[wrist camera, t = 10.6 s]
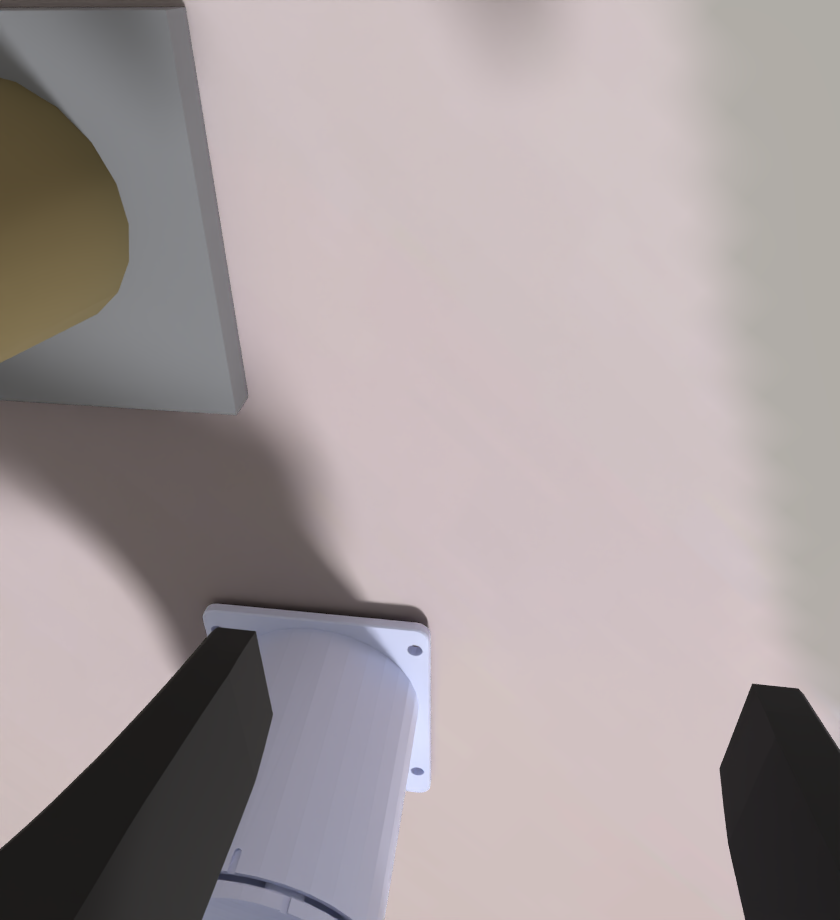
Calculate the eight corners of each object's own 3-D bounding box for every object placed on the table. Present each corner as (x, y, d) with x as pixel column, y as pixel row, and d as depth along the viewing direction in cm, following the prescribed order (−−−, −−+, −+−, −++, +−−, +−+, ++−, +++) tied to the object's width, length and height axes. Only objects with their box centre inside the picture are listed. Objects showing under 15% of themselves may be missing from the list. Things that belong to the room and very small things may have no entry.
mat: (248, 397, 21) (236, 415, 20) (-57, 378, 22) (-80, 395, 21) (185, 6, 16) (165, 9, 15) (-213, 8, 17) (-251, 11, 16)
